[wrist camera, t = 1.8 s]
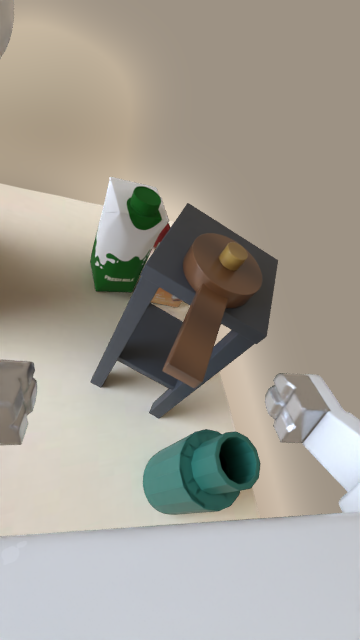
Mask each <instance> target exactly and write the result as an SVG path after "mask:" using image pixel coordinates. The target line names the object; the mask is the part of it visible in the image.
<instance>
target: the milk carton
mask: <svg viewBox="0 0 360 640" xmlns="http://www.w3.org/2000/svg"><path fill="white" fill-rule="evenodd" d="M168 222H169V219H168V216H167V213H166V210H165V207H164V205H163V201H162V198H161V197H160V196H159V193H158V190H157V188H156V187H153V186H148V185H144V184H139V183H135V182H131V181H126V180H122V179H118V178H113V177H110V180H109V185H108V189H107V194H106V198H105V203H104V206H103V211H102V215H101V218H100V222H99V226H98V230H97V234H96V238H95V242H94V245H93V250H92V255H91V261H90V262H91V268H92V273H93V279H94V285H95V290H96V291H108V292H132V291H133V289H134V287H135V285H136V282H137V280H138V278H139V276H140V274H141V271H142V269H143V267H144V265H145V263H146V261H147V258H148V256H149V254H150V252H151V250H152V248H153V246H154V244H155V242H156V239H157V237H158V235H159V234H160V232H161V231H162V230H163V229H164V227H165V226H166V225H167V223H168Z"/></svg>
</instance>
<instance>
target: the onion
mask: <svg viewBox="0 0 360 640" xmlns="http://www.w3.org/2000/svg"><path fill="white" fill-rule="evenodd" d="M169 229H170V225H169V224H168V223H167V225H166V226H165V227H164V229H163V230H162V231H161V232H160V234H159V235H158V237H157V239H156V242H155V244H154V246H153V247H157V245H158V243H159V242H161V241H162V240H163V238H164V237H165V235H166V234H167V232H168V231H169Z"/></svg>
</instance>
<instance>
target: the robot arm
mask: <svg viewBox="0 0 360 640" xmlns="http://www.w3.org/2000/svg"><path fill="white" fill-rule="evenodd" d="M13 21H14V0H0V58H1V57H2V55H3V53H4V52H5V50H6V47H7V45H8V43H9V40H10V37H11V33H12V28H13ZM34 372H35V368H34V363H33V362H28V361H14V360H0V445H21V444H22V441H23V438H24V435H25V432H26V429H27V426H28V420H27V415H28V414H29V413H31V412H32V411H33V408H34V405H35V401H36V395H37V382H36V380H35V379H34V378H33V374H34ZM273 381H274V384H275V385H274V386H272V387H270V388H269V389H268V392H267V393H266V397H265V404H266V409H267V411H268V414H269V415H270V416H271V417H273V419H275V421H274V425H273V426H274V428H275V430H276V433H277V435H278V437H279V439H280V442H286V443H303V445H304V446H305V447H306V448H307V449H308V451H309V452H310V453H311V454H312V455H313V456H314V457H315V458H316V459H317V460H318V461H319V462H320V463H321V464H322V465H323V466H324V467H325V468H326V469H327V471H328V472H329V473H330V474H331V475H332V476H333V477H334V478H335V479H336V480H337V481H338V482H339V483H340V484H341V485H342V486H343V487H344V488H345V489H346V490H347V492H348V493H347V494H345V495H344V496H343V497H342V498H341V499H340V501H339V505H340V507H341V509H342V512H343V513H335V514H318V515H303V516H289V517H274V518H260V519H245V520H230V521H216V522H201V523H187V524H172V525H157V526H143V527H128V528H114V529H99V530H85V531H70V532H56V533H41V534H26V535H12V536H0V640H360V420H359V419H358V418H357V417H355V416H354V415H352V414H351V413H350V412H345V411H344V410H343V408H342V407H341V405H340V404H339V403H338V401H337V399H336V398H335V397H334V395H333V393H332V392H331V391H330V389H329V388H328V386H327V385H326V383H325V382H324V380H323V379H322V378H321V377H320V376H319V375H311V374H287V373H286V374H285V373H279V374H278V375H276V377H275V378H274V380H273Z"/></svg>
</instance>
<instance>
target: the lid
mask: <svg viewBox="0 0 360 640" xmlns="http://www.w3.org/2000/svg"><path fill="white" fill-rule="evenodd" d="M183 271H184V274H185V277H186V279H187V281H188V282H189V284H190V285H191V287H192V288H193V289H194V290H195V291H196V294H195V296H194V298H193V301H192V303H191V305H190V308H189V310H188V312H187V314H186V317H185V319H184V321H183V324H182V326H181V328H180V331H179V333H178V335H177V337H176V340H175V342H174V344H173V347H172V349H171V351H170V354H169V356H168V358H167V361H166V363H165V365H164V367H163V372H165V373H167V374H169V375H171V376H172V377H174V378H176V379H178V380H180V381H182V382H183V383H185V384H187V385H189V386H191V387H192V388H196V387H197V386H198V385H200V384H201V383H202V382H203V380H204V376H205V373H206V370H207V367H208V363H209V360H210V357H211V354H212V350H213V347H214V344H215V341H216V337H217V334H218V331H219V328H220V324H221V321H222V318H223V315H224V311H225V308H237V307H240V306H242V305H244V304H245V303H246V302H247V301H248V300H249V299H250V298H251V297H252V296H253V295H254V294H255V293H256V292H257V291H258V290H259V289H260V287H261V285H262V273H261V270H260V268H259V265H258V264H257V262H256V260H255V259H254V258H253V256H252V255H251V254H250V253H249V252H248V251H247V250H246V249H245V248H244V247H243V246H241V245H240V244H239V243H237V242H236V241H234V240H232V239H230V238H228V237H226V236H223V235H220V234H215V233H206V234H202V235H200V236H198V237H197V238H196V239H195V241H194V242H193V244H192V245H191V247H190V249H189V250H188V252H187V254H186V255H185V257H184V260H183Z"/></svg>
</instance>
